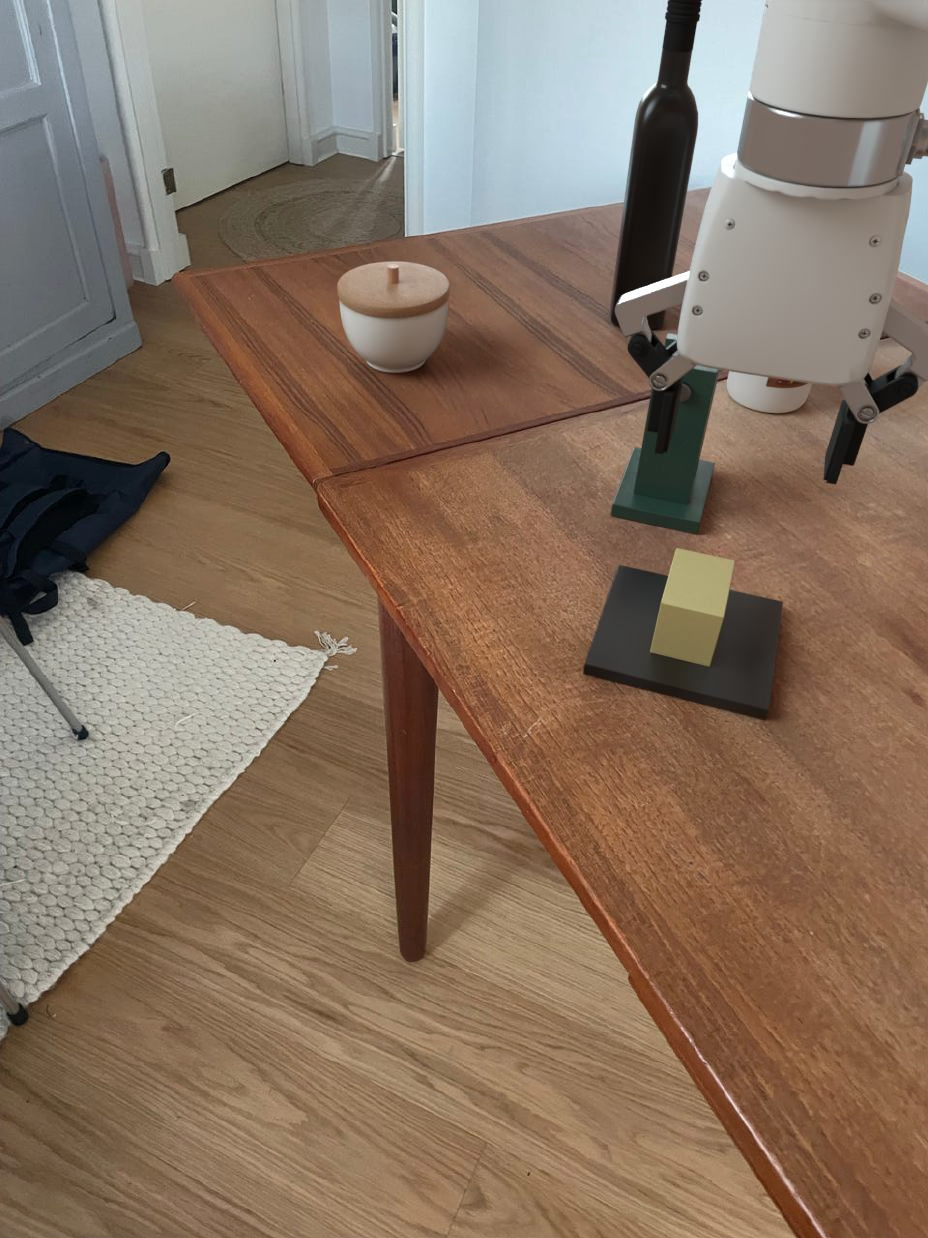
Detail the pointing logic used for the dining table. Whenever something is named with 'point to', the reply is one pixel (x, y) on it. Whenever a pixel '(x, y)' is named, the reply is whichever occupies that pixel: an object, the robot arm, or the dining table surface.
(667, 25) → the wine bottle
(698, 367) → the green lever stand
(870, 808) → the dining table surface
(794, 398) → the milk bottle
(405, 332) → the trinket box
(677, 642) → the butter
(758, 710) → the board
